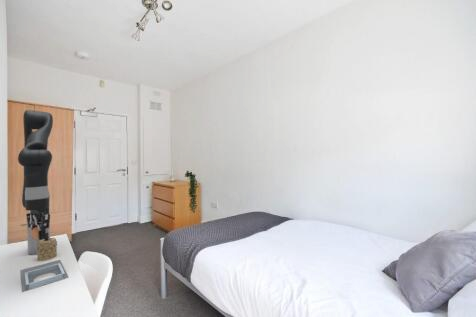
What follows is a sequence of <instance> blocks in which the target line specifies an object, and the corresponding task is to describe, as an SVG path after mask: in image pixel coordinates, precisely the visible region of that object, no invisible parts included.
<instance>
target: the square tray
mask: <svg viewBox="0 0 476 317" xmlns="http://www.w3.org/2000/svg"><path fill="white" fill-rule="evenodd" d="M55 269H59V272H60V274H59V275H56V274H55V273H48V274H44V275H41V276H38V277H37V278H35V279H34V280H33V281H34V282H32V283H29V280H28V277H31V276H34V275H38V274H41V273H45V272H48V271H52V270H55ZM61 279H62V280H66V279H65V272H64V270H63V268H62V266H61V264H60V263H58V264H54V265H51V266H47V267H44V268H40V269H36V270H33V271H29V272H25V283H26V291H25V292H27V290H28V291H31V290H34V289H37V288H40V287H43V285H44V286H47V285H50V284H52V282H53V283H55V281H56V282H59V281H62V280H61ZM58 280H59V281H58ZM49 283H50V284H49ZM46 284H47V285H46ZM39 286H40V287H39ZM36 287H37V288H36ZM33 288H34V289H33ZM30 289H31V290H30Z"/></svg>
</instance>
